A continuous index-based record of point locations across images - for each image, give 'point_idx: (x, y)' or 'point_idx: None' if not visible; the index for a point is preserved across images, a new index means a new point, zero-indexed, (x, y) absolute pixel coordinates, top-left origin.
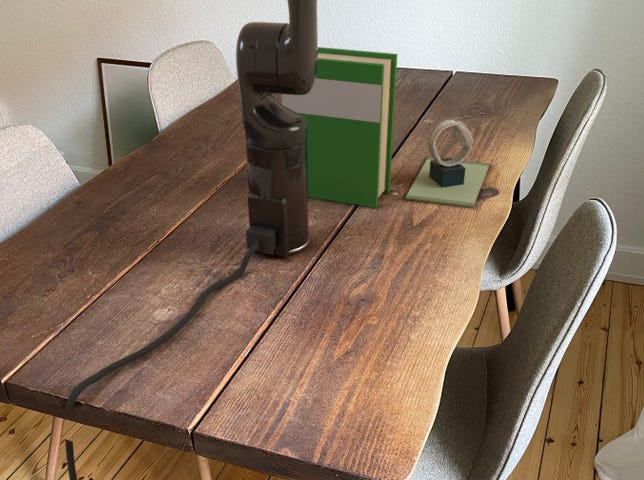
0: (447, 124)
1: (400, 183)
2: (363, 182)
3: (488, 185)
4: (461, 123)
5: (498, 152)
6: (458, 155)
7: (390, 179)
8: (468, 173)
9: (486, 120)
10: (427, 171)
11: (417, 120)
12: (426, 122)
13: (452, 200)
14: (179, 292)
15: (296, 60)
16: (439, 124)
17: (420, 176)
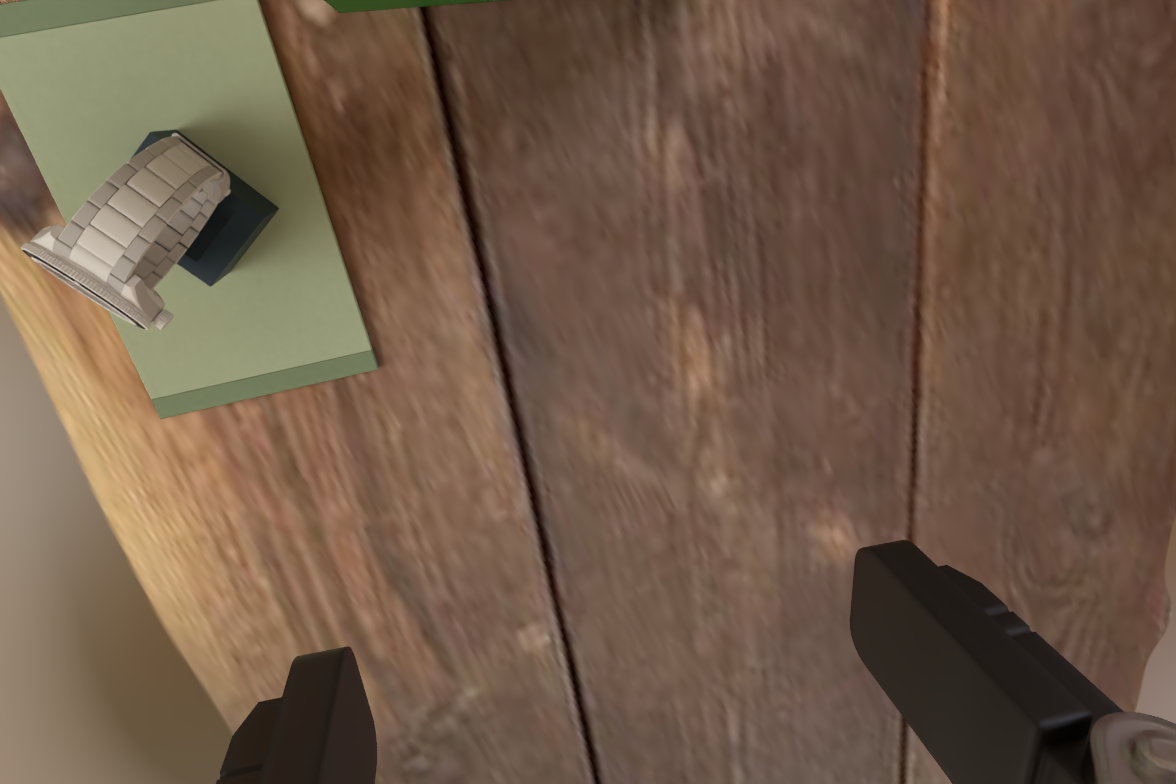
0: (101, 202)
1: (349, 116)
2: None
3: None
4: (63, 263)
5: (203, 531)
6: (156, 267)
7: (331, 5)
8: (171, 303)
9: (380, 725)
10: (311, 252)
11: (567, 630)
12: (535, 630)
13: (66, 24)
14: None
15: None
16: (157, 209)
17: (307, 195)
